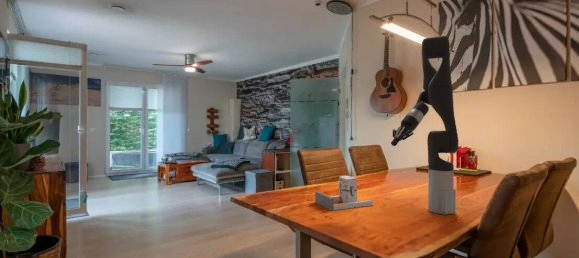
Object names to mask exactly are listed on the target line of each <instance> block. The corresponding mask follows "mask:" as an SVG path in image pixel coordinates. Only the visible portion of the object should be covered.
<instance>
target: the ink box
mask: <svg viewBox="0 0 579 258" xmlns="http://www.w3.org/2000/svg"><path fill="white" fill-rule="evenodd" d="M357 183H358V180H357V178H356V177H353V176H350V175H342V176H338V196H339V201H338V202H341V203H349V202H358V187H357V186H358V184H357Z"/></svg>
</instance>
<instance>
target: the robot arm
mask: <svg viewBox="0 0 579 258" xmlns="http://www.w3.org/2000/svg"><path fill="white" fill-rule="evenodd" d="M449 39H450V38H449V37H448V36H447V35H440V36H432V37H426V38H423V39H422V41H421V48H420V53H421V64H422V73H423V74H422V75H423V77H422V79H423V80H422V88H423V89H422V90H421V91H420V92H419V96H418V98H417V100H416V102H415V103H414V105H413V107H412V108H411V109H410V110H409V111H408V113H406V114H405V116H404V117H403V119H402V120H401V121H400V126H398V127H397V129H394V128H393V129H392V137H393V139H392V140H391V141H390V145H391V146H392V147H396V146H397V145H398V144H399V143H400V142H401V141H406V140H407V139H408V138H409V137H411V136H413V135H414V134H415V133H414V131H415V130H416V128H417V127H418V126H419V125H420V123H421V122H422V121H423V119H424V117H426V115H427V114H428V112H429V110H430V108H429V106H431V107H432V108H433V110H434V111H435V113H436V114H437V115H438V116H439V118H440V119H441V121H442V124H443V125H444V126H443V127H444V130H431V131H429V132H428V134H427V140H426V142H427V163H428V165H427V166H428V170H427V172H428V177H427V178H428V179H427V180H428V181H427V182H428V183H427V184H428V185H427V188H428V189H427V192H428V194H427V195H428V196H427V198H428V199H427V200H428V201H427V204H428V205H427V207H428V208H427V210H428V212H431V213H435V214H440V215H445V216H446V215H451V214H456V212H457V211H456V210H457V209H456V205H457V204H456V198H457V197H456V195H457V194H456V192H457V190H456V188H455V189H454V169H455V168H454V167H455V166H454V164H453V162H450V161H448V160H445V159H443V158H441V157H440V154H455V153H457V151H458V148H459V135H458V129H457V123H456V118H455V117H456V116H455V108H454V107H455V106H454V91H453V83H452V75H451V74H452V72H451V54H450V53H451V49H450V46H451V45H450V40H449ZM432 59H441V62H440V63H439V67H438V68H437V69H436V68H435V67H434V66H433V65H432V62H431V61H430V60H432ZM428 105H429V106H428Z"/></svg>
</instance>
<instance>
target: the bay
mask: <svg viewBox="0 0 579 258" xmlns="http://www.w3.org/2000/svg"><path fill="white" fill-rule="evenodd" d="M314 194H315V195H314V196H315V197H314V203H315V204H318V205H319V206H322V208H325V209H326V210H329V211H338V210H344V209H345V210H346V209H354V207H355V208H362V206H363V207H370V206H371V205H372V206H373V205H374V200H372V199H371V200H359V201H358V200H357V202H349V203H342V202H341V203H334V202H339V201H338V200H339V195H331V196H329V195H327V194H325V193H323V192H320V191H318V190H317V191H315V192H314Z"/></svg>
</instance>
